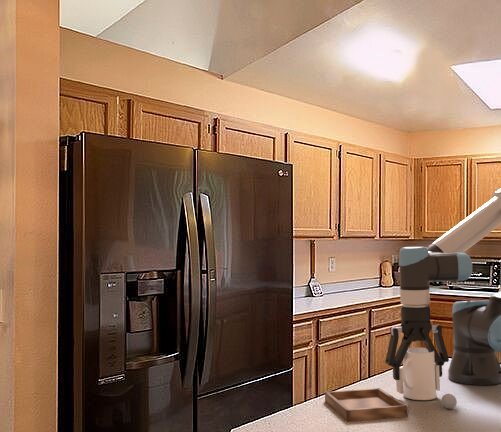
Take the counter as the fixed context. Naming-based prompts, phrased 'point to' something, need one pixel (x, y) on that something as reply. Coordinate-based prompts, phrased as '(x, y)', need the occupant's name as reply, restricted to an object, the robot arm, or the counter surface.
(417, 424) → the counter surface
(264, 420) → the counter surface
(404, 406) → the tray
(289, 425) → the counter surface
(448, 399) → the ball
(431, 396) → the mug
